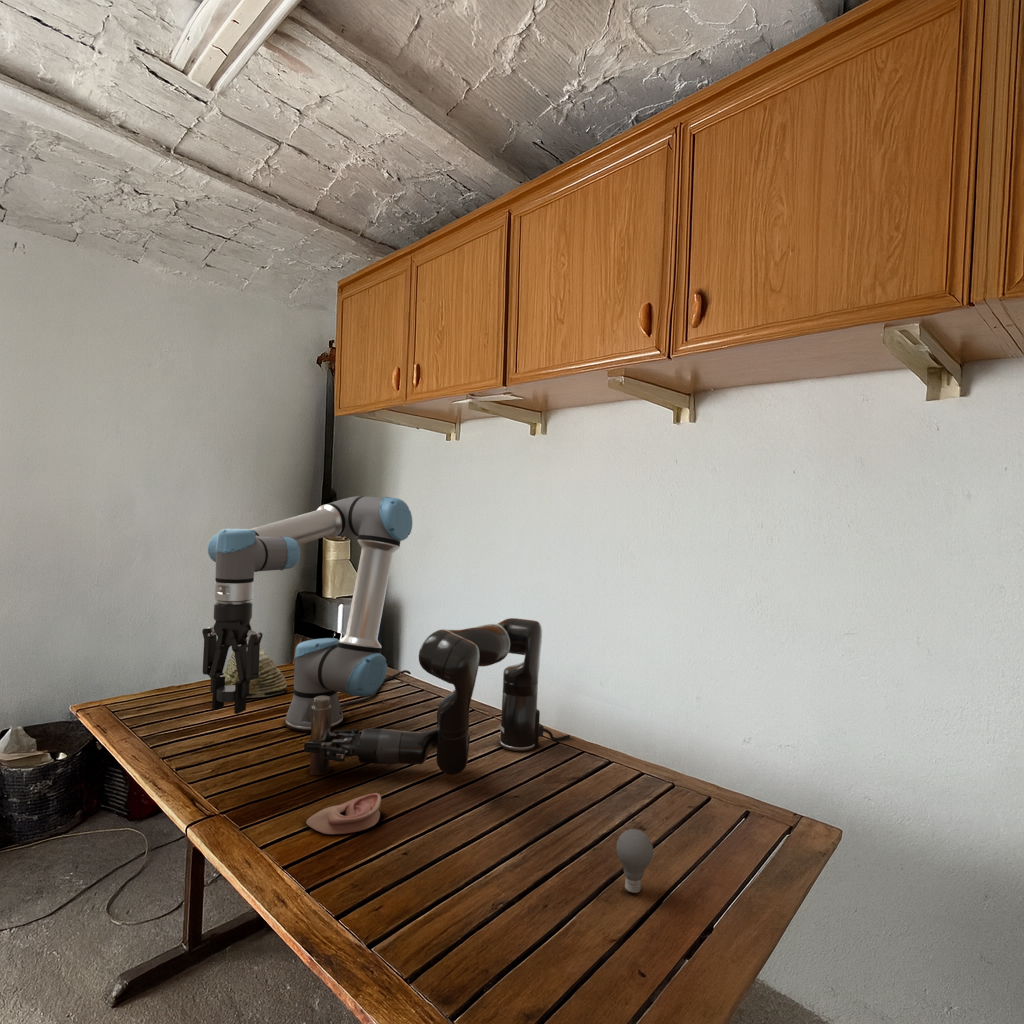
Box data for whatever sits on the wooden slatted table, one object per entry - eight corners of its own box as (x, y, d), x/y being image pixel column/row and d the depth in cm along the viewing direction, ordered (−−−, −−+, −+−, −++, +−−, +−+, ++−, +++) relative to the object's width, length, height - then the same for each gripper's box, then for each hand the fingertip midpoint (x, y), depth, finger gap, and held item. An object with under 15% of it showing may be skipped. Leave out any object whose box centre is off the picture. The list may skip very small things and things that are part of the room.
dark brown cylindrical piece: (321, 776, 143) (324, 701, 143) (305, 773, 145) (308, 699, 144) (332, 769, 147) (335, 696, 147) (316, 766, 149) (319, 694, 148)
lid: (239, 693, 139) (239, 683, 139) (244, 700, 134) (244, 690, 134) (214, 697, 136) (214, 686, 136) (218, 703, 132) (219, 693, 132)
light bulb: (610, 879, 108) (613, 822, 108) (644, 879, 109) (647, 822, 109) (619, 902, 102) (622, 840, 102) (655, 901, 103) (658, 840, 103)
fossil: (218, 695, 195) (220, 647, 195) (278, 685, 208) (279, 640, 207) (228, 703, 189) (230, 653, 188) (289, 692, 201) (290, 645, 201)
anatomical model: (298, 809, 120) (327, 783, 131) (297, 830, 120) (327, 802, 131) (363, 819, 117) (388, 791, 128) (362, 840, 117) (387, 811, 128)
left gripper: (185, 600, 134) (180, 709, 134) (257, 607, 129) (252, 721, 129) (211, 595, 141) (207, 699, 141) (280, 602, 136) (276, 710, 136)
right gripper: (389, 719, 153) (318, 716, 153) (375, 742, 138) (297, 738, 139) (388, 750, 153) (317, 746, 153) (374, 776, 139) (296, 772, 139)
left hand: (228, 709), depth 135 cm, fingers closed on lid, 5 cm apart
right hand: (308, 742), depth 146 cm, fingers closed on dark brown cylindrical piece, 4 cm apart
